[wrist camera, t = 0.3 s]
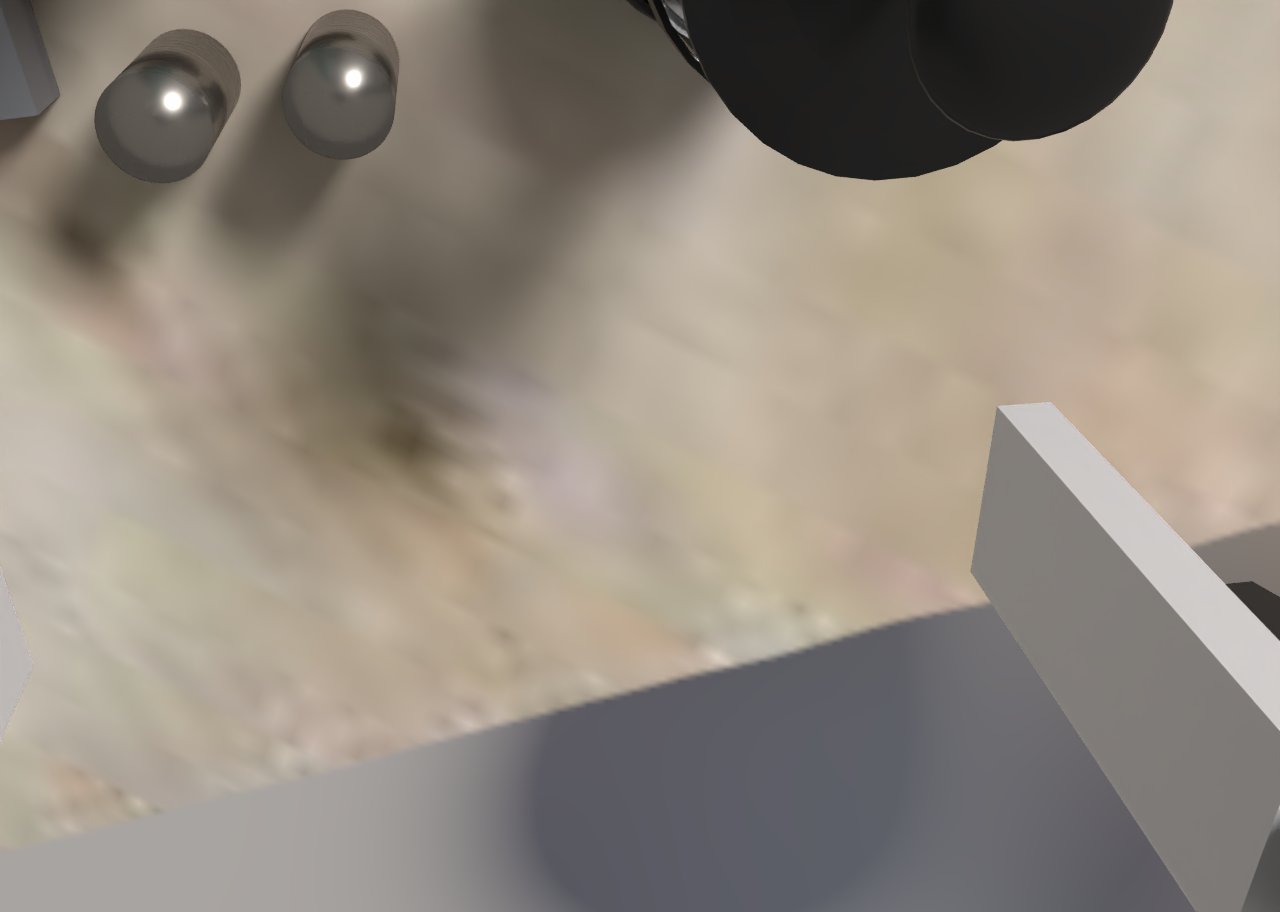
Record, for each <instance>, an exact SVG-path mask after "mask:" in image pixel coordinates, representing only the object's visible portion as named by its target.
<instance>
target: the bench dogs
mask: <svg viewBox="0 0 1280 912" xmlns="http://www.w3.org/2000/svg"><path fill="white" fill-rule="evenodd" d="M398 71H399V55H398V50H397V47H396V44H395V41H394V39H393V38H392V36H391V34H390V33H389V31H388V30H387V29H386V28H385V27H384V26H383V25H382V24H381V23H380V22H379V21H378V20H376V19H375V18H373V17H372V16H370V15H368V14H366V13H363V12H360V11H355V10H338V11H334V12H331V13H328V14H326V15H324V16H322V17H321V18H320V19H318V20H317V21H316V22H315V23H314V24H313V25H312V26H311V28H310V29H309V31H308V33H307V34H306V37H305V39H304V41H303V43H302V46H301V48H300V50H299V52H298V55H297V57H296V59H295V61H294V64H293V66H292V68H291V70H290V73H289V75H288V77H287V80H286V82H285V85H284V89H283V97H282V100H283V110H284V114H285V118H286V120H287V123H288V125H289V127H290V128H291V130H292V132H293V133H294V135H295V136H296V137H297V138H298V139H299V140H300V141H301V142H302V143H303V144H304V145H305V146H306V147H308V148H309V149H311V150H312V151H314V152H315V153H318V154H320V155H322V156H325V157H328V158H333V159H353V158H358V157H361V156H364V155H366V154H368V153H370V152H371V151H373V150H374V149H376V148H377V147H378V146H379V145H380V144H381V143H382V142H383V141H384V140H385V138H386V137H387V135H388V133H389V131H390V129H391V127H392V124H393V120H394V113H395V103H396V92H397V82H398ZM240 90H241V79H240V74H239V70H238V67H237V65H236V63H235V61H234V59H233V57H232V56H231V54H230V53H229V52H228V50H227V49H226V48H225V47H224V46H223V45H222V44H221V43H219V42H218V41H217V40H215V39H214V38H212V37H211V36H209V35H206V34H204V33H201V32H199V31H194V30H188V29H178V30H172V31H169V32H166V33H164V34H162V35H160V36H158V37H157V38H156V39H154V40H153V41H152V42H151V43H150V44H149V45H148V46H147V47H146V48H145V49H144V50H143V51H142V52H141V53H140V54H139V55H138V56H137V57H136V58H135V59H134V61H133V62H132V63H131V64H130V65H129V66H128V67H127V68H126V69H125V70H124V71H123V72H122V73H121V74H120V75H119V76H118V77H117V78H116V79H115V80H114V81H113V82H112V83H111V84H110V85H109V86H108V87H107V88H106V89H105V90H104V92H103V93H102V94H101V96H100V98H99V100H98V103H97V106H96V110H95V129H96V133H97V137H98V139H99V142H100V144H101V146H102V148H103V150H104V151H105V153H106V154H107V155H108V157H109V158H110V159H111V160H112V161H113V162H114V163H115V164H116V165H117V166H118V167H119V168H121V169H122V170H123V171H125V172H126V173H128V174H130V175H132V176H134V177H136V178H138V179H141V180H144V181H148V182H154V183H170V182H175V181H179V180H182V179H184V178H186V177H188V176H190V175H191V174H193V173H194V172H196V171H197V170H198V169H199V168H200V167H201V165H202V164H203V163H204V161H205V160H206V158H207V156H208V154H209V152H210V151H211V149H212V147H213V145H214V143H215V142H216V140H217V138H218V136H219V135H220V133H221V131H222V129H223V127H224V126H225V124H226V122H227V120H228V118H229V117H230V115H231V113H232V111H233V109H234V108H235V106H236V104H237V102H238V99H239V96H240Z"/></svg>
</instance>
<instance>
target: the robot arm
mask: <svg viewBox="0 0 1280 912" xmlns="http://www.w3.org/2000/svg"><path fill="white" fill-rule="evenodd" d="M971 573H972V574H973V576H974V577H975V579H976V580H977V582H978V583H979V585H980V586H981V588H982V589H983V591H984V592H985V594H986V595H987V597H988V598H989V600H990V602H991V603H992V605H993V606H994V608H995V609H996V611H997V612H998V613H999V615H1000V616H1001V618H1002V619H1003V621H1004V623H1005V624H1006V626H1007V627H1008V629H1009V630H1010V632H1011V633H1012V635H1013V636H1014V638H1015V639H1016V641H1017V642H1018V644H1019V645H1020V646H1021V648H1022V650H1023V651H1024V653H1025V654H1026V656H1027V657H1028V659H1029V660H1030V662H1031V663H1032V665H1033V666H1034V668H1035V669H1036V671H1037V672H1038V674H1039V675H1040V677H1041V678H1042V680H1043V681H1044V683H1045V685H1046V686H1047V687H1048V689H1049V690H1050V692H1051V694H1052V695H1053V697H1054V698H1055V700H1056V701H1057V703H1058V704H1059V705H1060V707H1061V709H1062V710H1063V712H1064V713H1065V715H1066V716H1067V718H1068V719H1069V721H1070V722H1071V724H1072V725H1073V727H1074V728H1075V730H1076V731H1077V733H1078V734H1079V736H1080V737H1081V739H1082V740H1083V742H1084V743H1085V745H1086V746H1087V748H1088V749H1089V751H1090V752H1091V754H1092V755H1093V757H1094V758H1095V760H1096V761H1097V763H1098V764H1099V766H1100V767H1101V769H1102V770H1103V772H1104V773H1105V775H1106V777H1107V778H1108V779H1109V781H1110V783H1111V784H1112V786H1113V787H1114V789H1115V790H1116V792H1117V793H1118V795H1119V796H1120V798H1121V799H1122V801H1123V802H1124V804H1125V805H1126V807H1127V808H1128V809H1129V811H1130V813H1131V814H1132V816H1133V817H1134V819H1135V820H1136V822H1137V823H1138V825H1139V826H1140V828H1141V829H1142V830H1143V832H1144V834H1145V835H1146V837H1147V838H1148V840H1149V841H1150V843H1151V844H1152V846H1153V847H1154V849H1155V850H1156V852H1157V853H1158V855H1159V856H1160V858H1161V859H1162V861H1163V862H1164V864H1165V865H1166V867H1167V869H1168V870H1169V872H1170V873H1171V875H1172V876H1173V877H1174V879H1175V881H1176V882H1177V884H1178V885H1179V886H1180V888H1181V890H1182V891H1183V893H1184V894H1185V896H1186V897H1187V899H1188V900H1189V902H1190V903H1191V905H1192V906H1193V908H1194V909H1195V911H1196V912H1280V597H1279V596H1277V595H1275V594H1273V593H1272V592H1270V591H1268V590H1266V589H1265V588H1263V587H1261V586H1259V585H1258V584H1256V583H1254V582H1252V581H1250V582H1242V583H1232V584H1225V583H1223V581H1222V580H1221V579H1220V578H1219V577H1218V576H1217V575H1216V574H1215V573H1214V572H1213V571H1212V570H1211V569H1210V568H1209V567H1208V566H1207V565H1206V564H1205V563H1204V562H1203V561H1202V559H1201V558H1200V557H1199V556H1198V555H1197V554H1196V553H1195V552H1194V551H1193V550H1192V549H1191V548H1190V547H1189V546H1188V545H1187V544H1186V543H1185V542H1184V541H1183V540H1182V539H1181V538H1180V537H1179V535H1178V534H1177V533H1176V532H1175V531H1174V530H1173V529H1172V528H1171V527H1170V526H1169V525H1168V524H1167V523H1166V522H1165V521H1164V520H1163V519H1162V518H1161V517H1160V516H1159V515H1158V514H1157V512H1156V511H1155V510H1154V509H1153V508H1152V507H1151V506H1150V505H1149V504H1148V503H1147V502H1146V501H1145V500H1144V499H1143V498H1142V497H1141V496H1140V495H1139V494H1138V493H1137V492H1136V491H1135V490H1134V488H1133V487H1132V486H1131V485H1130V484H1129V483H1128V482H1127V481H1126V480H1125V479H1124V478H1123V477H1122V476H1121V475H1120V474H1119V473H1118V472H1117V471H1116V470H1115V469H1114V468H1113V467H1112V466H1111V464H1110V463H1109V462H1108V461H1107V460H1106V459H1105V458H1104V457H1103V456H1102V455H1101V454H1100V453H1099V452H1098V451H1097V450H1096V449H1095V448H1094V447H1093V446H1092V445H1091V444H1090V443H1089V442H1088V440H1087V439H1086V438H1085V437H1084V436H1083V435H1082V434H1081V433H1080V432H1079V431H1078V430H1077V429H1076V428H1075V427H1074V426H1073V425H1072V424H1071V423H1070V422H1069V421H1068V420H1067V419H1066V418H1065V416H1064V415H1063V414H1062V413H1061V412H1060V411H1059V410H1058V409H1057V408H1056V407H1055V406H1054V405H1053V404H1052V403H1051V402H1043V403H1030V404H1018V405H1006V406H997V410H996V417H995V423H994V429H993V435H992V442H991V448H990V454H989V460H988V466H987V473H986V479H985V485H984V491H983V498H982V504H981V510H980V516H979V523H978V529H977V535H976V541H975V547H974V554H973V560H972V566H971ZM32 668H33V662H32V659H31V656H30V653H29V650H28V647H27V644H26V641H25V638H24V635H23V632H22V629H21V626H20V623H19V620H18V617H17V614H16V611H15V608H14V605H13V602H12V599H11V597H10V594H9V591H8V588H7V585H6V582H5V579H4V576H3V573H2V570H1V567H0V742H1V740H2V737H3V735H4V733H5V730H6V728H7V726H8V723H9V721H10V719H11V716H12V714H13V712H14V709H15V707H16V705H17V702H18V700H19V698H20V695H21V693H22V691H23V688H24V686H25V684H26V682H27V679H28V677H29V675H30V672H31V670H32Z"/></svg>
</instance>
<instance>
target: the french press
mask: <svg viewBox="0 0 1280 912" xmlns="http://www.w3.org/2000/svg"><path fill="white" fill-rule="evenodd" d="M627 1H628V2H629V3H630V4H631V5H632V6H633V7H634V8H635V9H637V10H638V11H640V12H641V13H643V14H645V15H646V16H648V17H650V18H651V19H653V20H655V21H656V22H658V23H659V25H660V26H661V28H662V29H663V30H664V32H665V33H666V35H667V36H668V38H669V39H670V40H671V42H672V43H673V45H674V46H675V48H676V49H677V50H678V52H679V53H680V54H681V55H682V56H683V57H684V59H685V60H686V61H687V62H688V63H689V64H690V65H691V66H692V67H693V68H694V69H695V70H696V71H697V72H698V73H700V74H701V75H702V76H703V77H704V78H705V79H706V80H707V81H708V82H709V83H710V84H711V85H712V86H713V88H714V89H715V91H716V92H717V94H718V95H719V96H720V98H721V99H722V101H723V102H724V104H725V105H726V106H727V108H728V109H729V111H730V112H731V113H732V114H733V115H734V116H735V117H736V118H737V119H738V120H739V121H740V122H741V123H742V124H743V125H744V126H745V127H746V128H748V129H749V130H750V131H751V132H752V133H753V134H754V135H755V136H756V137H757V138H758V139H759V140H760V141H761V142H762V143H764V144H766V145H767V146H769V147H771V148H772V149H774V150H776V151H777V152H779V153H781V154H782V155H784V156H786V157H787V158H789V159H791V160H793V161H794V162H796V163H798V164H800V165H803V166H806V167H809V168H813V169H816V170H819V171H822V172H825V173H828V174H831V175H834V176H839V177H848V178H857V179H867V180H886V179H896V178H907V177H917V176H920V175H923V174H927V173H930V172H934V171H937V170H940V169H944V168H947V167H951V166H954V165H957V164H959V163H961V162H963V161H965V160H967V159H969V158H971V157H973V156H975V155H977V154H979V153H981V152H983V151H985V150H987V149H989V148H991V147H993V146H995V145H997V144H998V143H999V142H1001V141H1002V140H1007V141H1022V140H1033V139H1040V138H1044V137H1047V136H1050V135H1054V134H1057V133H1061V132H1064V131H1067V130H1069V129H1071V128H1073V127H1075V126H1077V125H1079V124H1081V123H1083V122H1085V121H1087V120H1089V119H1090V118H1092V117H1093V116H1094V115H1096V114H1097V113H1099V112H1100V111H1101V110H1103V109H1104V108H1105V107H1107V106H1108V105H1110V104H1111V103H1112V102H1113V101H1114V100H1115V99H1116V98H1117V97H1118V96H1119V95H1120V94H1121V93H1122V92H1123V91H1124V90H1125V89H1126V88H1127V87H1128V86H1129V85H1130V84H1131V83H1132V82H1133V81H1134V79H1135V78H1136V77H1137V75H1138V74H1139V73H1140V71H1141V70H1142V68H1143V67H1144V66H1145V64H1146V63H1147V62H1148V60H1149V59H1150V57H1151V55H1152V53H1153V51H1154V49H1155V47H1156V46H1157V44H1158V42H1159V40H1160V38H1161V36H1162V34H1163V32H1164V29H1165V26H1166V23H1167V20H1168V17H1169V14H1170V11H1171V8H1172V5H1173V0H627ZM678 34H679V35H680V36H681V37H682V38H683V39H684V40H685V41H686V42H687V43H688V45H689V46H690V47H691V48H692V49H693V50H694V51H695V53H696V56H697V58H698V59H697V58H696V57H695V56H694V55H693V54H692V53H691V52H690V51H689V49H688V48H687V47H686V45H685V44H684V42H683V41H682V39H681V38H680V37H679V35H678Z"/></svg>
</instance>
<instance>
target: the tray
mask: <svg viewBox="0 0 1280 912" xmlns="http://www.w3.org/2000/svg"><path fill="white" fill-rule="evenodd" d="M59 96H60V93H59V90H58V87H57V84H56V81H55V78H54V74H53V71H52V68H51V65H50V62H49V59H48V56H47V53H46V50H45V47H44V44H43V41H42V38H41V35H40V32H39V29H38V26H37V23H36V20H35V17H34V14H33V11H32V8H31V5H30V2H29V0H0V120H5V119H13V118H21V117H29V116H37V115H39V114H40V113H41V112H42V111H43V110H45V109H46V108H47V107H48V106H49V105H50V104H51V103H52V102H53V101H54V100H56V99H57V98H58V97H59Z"/></svg>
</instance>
